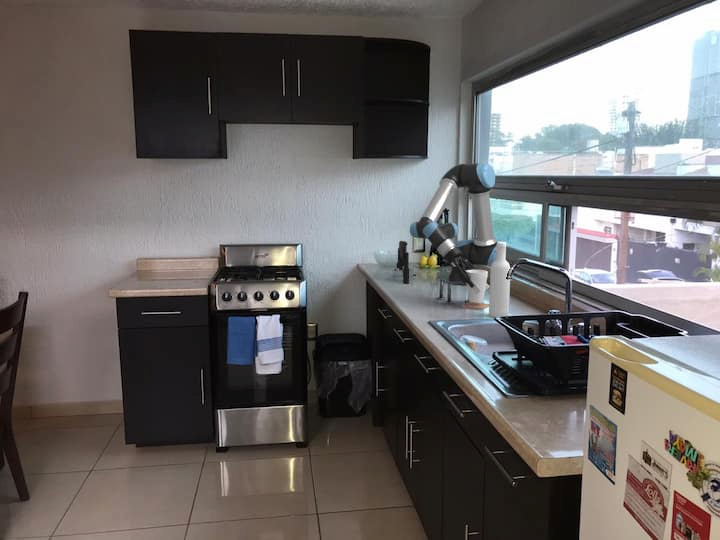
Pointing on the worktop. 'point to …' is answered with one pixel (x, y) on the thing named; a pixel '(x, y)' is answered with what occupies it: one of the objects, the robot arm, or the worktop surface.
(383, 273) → the worktop surface
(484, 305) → the coaster
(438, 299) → the bent rail
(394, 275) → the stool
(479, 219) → the robot arm
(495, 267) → the bottle
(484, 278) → the foam cup
